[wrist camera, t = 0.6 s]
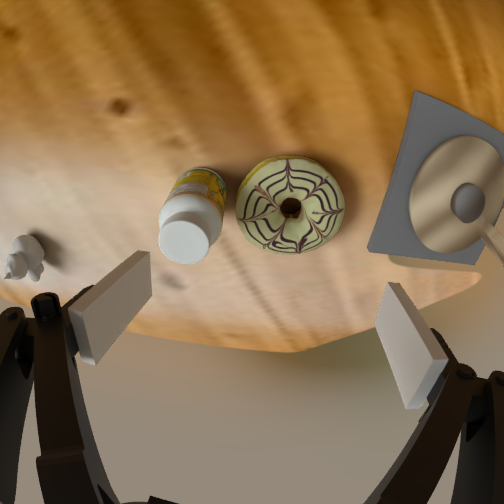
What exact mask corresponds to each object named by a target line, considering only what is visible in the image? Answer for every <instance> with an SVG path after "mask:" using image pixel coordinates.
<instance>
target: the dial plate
mask: <svg viewBox="0 0 504 504" xmlns="http://www.w3.org/2000/svg"><path fill="white" fill-rule="evenodd" d="M459 135H471V136H475V137H478V138H480V139H482V140H484V141H486V142H487V143H489V144H490V145H491V146H492V147H494V148H495V150H496V151H497V152H498V154H499V156H500V158H501V160H502V162H503V165H504V134H503V133H501V132H499V131H498V130H496V129H494V128H493V127H491V126H489V125H487V124H486V123H484V122H482V121H480V120H478V119H476V118H475V117H473V116H471V115H469V114H467V113H465V112H463V111H461V110H459V109H457V108H455V107H453V106H450V105H448V104H446V103H444V102H442V101H440V100H437V99H435V98H433V97H430V96H428V95H426V94H423V93H421V92H418V91H414V95H413V99H412V103H411V108H410V112H409V116H408V120H407V124H406V128H405V132H404V135H403V139H402V143H401V146H400V150H399V153H398V157H397V160H396V164H395V167H394V170H393V173H392V177H391V180H390V183H389V186H388V189H387V192H386V195H385V198H384V201H383V204H382V207H381V210H380V213H379V216H378V218H377V221H376V224H375V227H374V229H373V232H372V235H371V238H370V240H369V243H368V245H367V248H368V250H369V252H373V253H381V254H390V255H399V256H407V257H414V258H422V259H430V260H439V261H446V262H454V263H462V264H470V265H475V263H476V261H477V260H478V258H479V256H480V254H481V252H482V250H483V248H484V246H485V243H484V241H483V239H482V238H480V239H479V240H478V241H477V242H475V243H474V244H472V245H471V246H469V247H467V248H465V249H463V250H460V251H458V252H453V253H439V252H435V251H433V250H431V249H429V248H428V247H426V246H425V245H424V244H423V243H422V242H421V241H420V239H419V238H418V237H417V235H416V234H415V232H414V230H413V228H412V226H411V223H410V219H409V211H408V203H409V195H410V189H411V186H412V182H413V180H414V177H415V175H416V173H417V171H418V169H419V167H420V165H421V164H422V162H423V161H424V159H425V158H426V157H427V156H428V154H429V153H430V152H431V151H432V150H433V149H434V148H435V147H436V146H438V145H439V144H440V143H442V142H443V141H445V140H447V139H449V138H452V137H454V136H459ZM503 205H504V200H503V203H502V206H501V209H500V212H501V210H502V208H503ZM500 212H499V214H498V216H497V218H496V219H495V221H494V223H493V224H492V226H493V227H494V226H495V224H496V222H497V219H498V217H499V215H500Z"/></svg>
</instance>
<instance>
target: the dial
mask: <svg viewBox="0 0 504 504" xmlns="http://www.w3.org/2000/svg"><path fill="white" fill-rule="evenodd" d="M503 200H504V165H503V162H502V160H501V158H500V156H499V154H498V152H497V151H496V150H495V148H494V147H492V146H491V145H490V144H489V143H487V142H486V141H484V140H482V139H480V138H478V137H475V136H471V135H459V136H454V137H452V138H449V139H447V140H445V141H443V142H442V143H440V144H439V145H438V146H436V147H435V148H434V149H433V150H432V151H431V152H430V153H429V154H428V156H427V157H426V158H425V159H424V161H423V162H422V164H421V165H420V167H419V169H418V171H417V173H416V175H415V177H414V180H413V182H412V186H411V189H410V195H409V203H408V211H409V219H410V223H411V226H412V228H413V230H414V232H415V234H416V235H417V237H418V238H419V239H420V241H421V242H422V243H423V244H424V245H425V246H426V247H428V248H429V249H431V250H433V251H435V252H439V253H453V252H458V251H460V250H463V249H465V248H467V247H469V246H471V245H472V244H474V243H475V242H477V241H478V240H479V239H480V238H482V239H483V241H484V243H485V245H486V246H487V247H488V249H489V250H490V251H491V252H492V253H493V254H494V256H495V257H496V258H497V259H498V260H499V261H500V263H501V264H502V265H503V266H504V237H503V236H502V235H501V234H500V233H499V232H498V231H497V230H496V229H495V228H494V227H493V226H492V224H493V223H494V221H495V219H496V218H497V216H498V214H499V212H500V209H501V206H502V203H503Z"/></svg>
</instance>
